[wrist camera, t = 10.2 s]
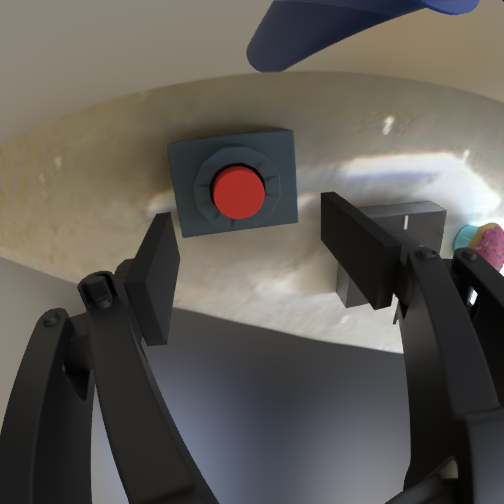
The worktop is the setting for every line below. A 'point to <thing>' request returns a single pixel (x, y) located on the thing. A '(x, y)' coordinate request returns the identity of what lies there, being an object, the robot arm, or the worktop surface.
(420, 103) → the worktop surface
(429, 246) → the plate
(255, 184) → the button
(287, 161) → the button box
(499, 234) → the cupcake
